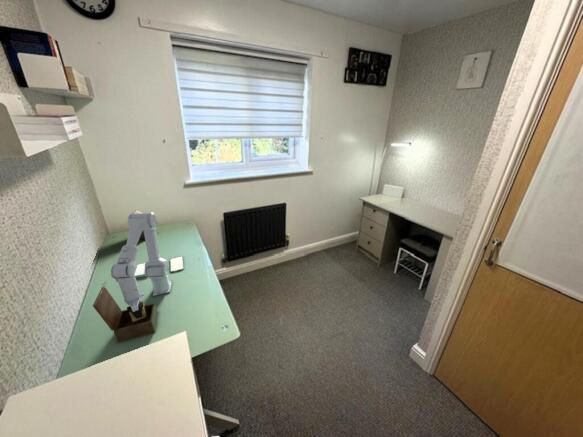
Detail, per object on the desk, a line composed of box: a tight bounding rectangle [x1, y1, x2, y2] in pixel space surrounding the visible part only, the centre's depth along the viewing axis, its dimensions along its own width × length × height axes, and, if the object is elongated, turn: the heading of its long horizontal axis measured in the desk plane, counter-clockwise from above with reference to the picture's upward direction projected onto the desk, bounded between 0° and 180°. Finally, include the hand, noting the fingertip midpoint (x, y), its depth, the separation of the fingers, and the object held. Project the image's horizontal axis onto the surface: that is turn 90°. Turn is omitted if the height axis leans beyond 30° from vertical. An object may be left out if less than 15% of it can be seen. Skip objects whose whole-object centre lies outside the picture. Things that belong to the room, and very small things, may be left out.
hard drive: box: [134, 262, 147, 279], centre depth 139 cm, size 2×8×12 cm
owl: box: [132, 209, 159, 240], centre depth 175 cm, size 13×13×20 cm
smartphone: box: [169, 256, 184, 273], centre depth 146 cm, size 7×1×15 cm
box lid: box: [92, 285, 122, 332], centre depth 95 cm, size 14×11×1 cm
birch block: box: [130, 300, 146, 322], centre depth 101 cm, size 5×5×5 cm
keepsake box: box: [113, 302, 159, 343], centre depth 102 cm, size 13×11×6 cm
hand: (138, 313), depth 102 cm, fingers closed on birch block, 5 cm apart
